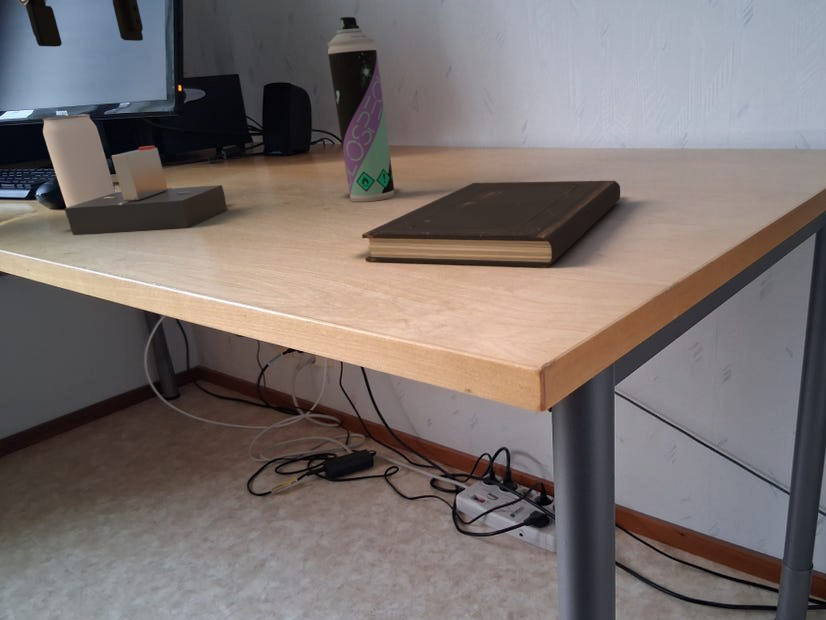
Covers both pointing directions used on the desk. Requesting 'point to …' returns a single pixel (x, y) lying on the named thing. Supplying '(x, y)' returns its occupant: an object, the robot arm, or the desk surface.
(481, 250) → the hardcover book
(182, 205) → the dark grey base plate
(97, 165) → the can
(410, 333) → the desk surface
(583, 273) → the desk surface
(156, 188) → the white rectangular block
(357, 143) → the spray can
